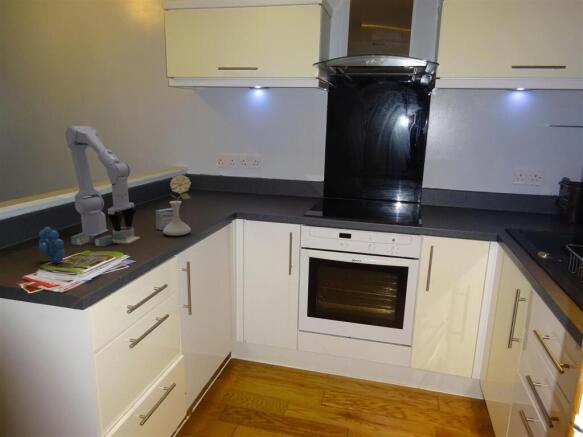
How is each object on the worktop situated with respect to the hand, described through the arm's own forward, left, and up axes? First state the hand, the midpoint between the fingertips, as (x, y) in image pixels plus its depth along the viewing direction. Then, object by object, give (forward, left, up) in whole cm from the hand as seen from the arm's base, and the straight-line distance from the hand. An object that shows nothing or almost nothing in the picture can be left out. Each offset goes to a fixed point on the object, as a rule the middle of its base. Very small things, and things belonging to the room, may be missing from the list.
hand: (123, 228), depth 168 cm
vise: (+7, -9, -5) cm, 12 cm away
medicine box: (-22, +7, -5) cm, 24 cm away
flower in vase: (-13, +17, -5) cm, 22 cm away
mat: (0, 0, -5) cm, 5 cm away
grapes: (+31, -7, -5) cm, 32 cm away
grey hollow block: (0, 0, -4) cm, 4 cm away
